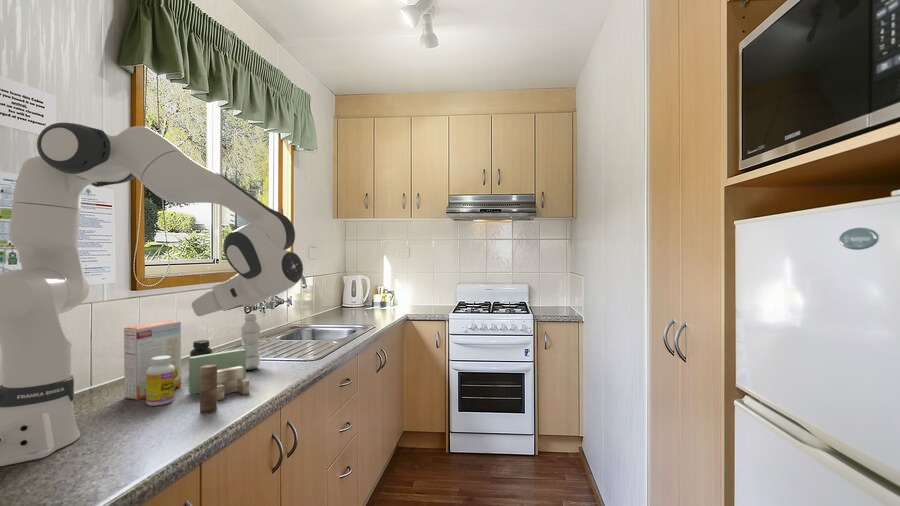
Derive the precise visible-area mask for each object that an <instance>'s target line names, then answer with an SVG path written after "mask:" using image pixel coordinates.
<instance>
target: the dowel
mask: <svg viewBox="0 0 900 506" xmlns="http://www.w3.org/2000/svg"><path fill="white" fill-rule="evenodd" d="M216 410H218V400H217V365H205V366H202V367H200V393H199V413H200V414H201V413H208V414H212V413H211V412H213V413H215V412H217V411H216ZM214 411H215V412H214Z"/></svg>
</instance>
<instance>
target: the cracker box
mask: <svg viewBox="0 0 900 506" xmlns="http://www.w3.org/2000/svg"><path fill="white" fill-rule="evenodd" d="M181 324H182V322H181V321H178V320H177V321H176V320H175V321H174V320H165V321H160V322H152V323H145V324H140V325H134V326H129V327H124V328H123V350H124V351H123V356H124V357H123V359H124V360H123V361H124V366H123V367H124V370H123V371H124V372H123V374H124V386H123V387H124V399H130V400H137V401H138V400H141V399H142V400H143V399H145V398H146V384H147V370H148V368H150V367H151V366H152V364H151V358H153V357H157V356H171V361H170V364H171V365H173V366H174V368H175V378H174V389H176V387H177V388H179V387H181V386H182V347H181V346H182V345H181V344H182V339H181V338H182V332H181V331H182V328H181V327H182V325H181Z"/></svg>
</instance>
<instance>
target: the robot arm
mask: <svg viewBox="0 0 900 506" xmlns="http://www.w3.org/2000/svg"><path fill="white" fill-rule="evenodd" d="M36 148H37V152H38V154H39V155H38V156H33V157H30V158H28V159H26V160H25V161H24V162H23V163H22V165H21V168H20V170H19V172H18V175H17V176H18V177H17V179H16V182H15V185H14V190H13V194H12V195H13V196H12V204H11V212H10V213H11V215H10V224H9V231H8V232H9V235H8V236H9V237H8V239H9V241H10V242H11V244H12V246H14V248H15V249H16V251H17V252H18V253H17V254H18V257H19V261H20V266H21V269H12V270H8V271H4V272H2V273H0V349H1V361H2V362H1V367H2V371H1V373H2V374H1V375H2V376H1V377H2V379H1V381H2V382H1V383H2V384H1V385H0V467H4V466H8V465H14V464H18V463H23V462H24V463H25V462H29V461H33V460H38V459H43V458H46V457H48V456H50V455H51V454H53V453H54V452H56V451H57V450H59V449H62V448H64V447H67V446H69V445H70V444H72V443H74V442H76V441H77V440H78V439H79V438H80V436H81V433H80V430H79V428H78V426H77V425H78V424H77V422H76V416H75V412H74V411H75V410H74V403H73V401H74V399H75V398H74V397H75V389H76V388H75V387H76V386H75V385H76V384H75V377H74V375H73V374H72V361H73V360H72V359H73V358H72V357H73V355H72V353H73V352H72V349H73V347H72V341H71V340H70V339H69V338H68V337H67V336H66V334H65V333H64V330H63V327H62V324H61V321H60V314H64V313H67V312H69V311H72V310H74V309H75V308H76V307H78V306H79V305H81V304H82V303H84V302H85V300H86V299H87V297H88V296H89V293H90V285H89V281H88V280H87V279H86V277H85V276H84V274H83V270H82V265H81V259H80V253H79V243H78V240H79V238H78V237H79V226H80V217H81V202H82V196H83V195H82V194H83V192H84V189H86V188H87V187H88V186H89V185H91V186H93V187H96V188H100V187H105V186H109V185H118V184H124V183H127V182H130V181H132V180H133V179H135V178H136V179H137V180H138V181H139V182H140V183H142V184H143V185H144V186H145V187H146V189H148V190H149V191H150V192H152V193H153V194H154V195H156V196H157V197H158V198H161V199H162V200H164V201H166V202H168V203H172V204H181V205H182V204H197V203H199V204H200V203H203V204H204V203H207V204H216V205H220V206H222V207H224V208H227V209H228V210H230V211H231V212H233V214H235V215H237V216H238V217H239V218H241V219H242V220H244V221H245V222H247V224H245V225H243V226H241V227H238V228H237V229H235V230H233V231H230V232H228V234H226V236H225V237H224V240H223V244H222V245H223V248H222V249H223V253H224V257H225V258H226V260H227V263H229V265H230V266H231V268H232V269H233V270H234V271H235V272H237V273H236V274H235V275H233V276H232V277H230V278H229V279H227V280H224V281H221V282H219V283H217V284H214V285H213V286H212V288H211V290H209V291H207V292H205V293H204V294H202V295H200V296H199V297H197V298H196V299H194V300H193V301H192V302H191V307H192V309H193V312H194V314H195V315H196V316H197V317H203V316H205V315H210V314H212V313H216V312H219V311H223V312H226V311H231V310H234V309H237V308H243V307H244V308H245V307H253V306H255V305H258V304H260V303H262V302H264V301H266V300H268V299H270V298H271V297H273V296H277V295H279V294H282V293H284V292H286V291H288V290H289V289H292V288H293V287H294V286H295V285H296V284H298V283H299V281H300V280H301V278H302V277H303V271H304V265H303V262H302V261H303V260H302V259H301V258H300V256H299V255H298V254H297V253H296V252H293V251H289V250H288V249H290V248H292V246H293V245H294V243H295V241H296V231H295V227H294V225H293V223H292V221H291V220H290V219H289V218H288V217H287V216H286V215H285V214H283V213H281V212H279V211H278V210H277V211H276V210H275V209H273V208H271V207H268V206H267V205H265V204H264V203H263V202H261V201H260V200H258V198H255V197H254V195H251V194H250V193H249V192H248V191H246V190H244V188H242V187H241V186H239V185H237V184H236V183H235V182H233V181H232V180H231V179H229V178H227V177H226V176H225V175H222V174H221V173H220V174H219V173H218V172H215V171H213V170H210V169H209V168H206V167H204V166H202V165H201V164H200V163H198V162H196V160H195V161H194V160H193V159H192V158H190V157H189V156H187V155H186V154H185V153H184V152H183V151H182V150H181V149H180V148H178V147H177V146H176V145H175V144H173V143H172V142H171V141H169V140H168V139H166V137H163V136H162V135H161V134H159V133H158V132H156V131H155V130H152V129H151V128H149V127H147V126H142V125H136V126H135V125H134V126H130V127H127V128H126V129H124V130H122V131H121V132H119V134H116V135H109V134H107V133H106V132H105V131H104V130H102V129H99V128H95V127H91V126H87V125H83V124H78V123H73V122H72V123H71V122H55V123H52V124H50V125H47V126H46V127H45V128H44V129H43V130H41V131H40V134H39V135H38V137H37V141H36Z"/></svg>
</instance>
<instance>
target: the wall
mask: <svg viewBox="0 0 900 506" xmlns="http://www.w3.org/2000/svg"><path fill="white" fill-rule="evenodd" d="M205 365H217V370H220V369H226V368H231V367H237V366H242V367H244V377H243V378H245V379H247V376H246V375H247V370H246V350H245V349H242V348H241V349H233V350H227V351H221V352H220V351H219V352H215V353H213V352H212V354H207V355H200V356H194V357H190V356H189V357H188V394H189V393H190V394H193V395H197V394H196V393H198V394H200V367H202V366H205ZM190 394H189V395H190Z"/></svg>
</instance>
